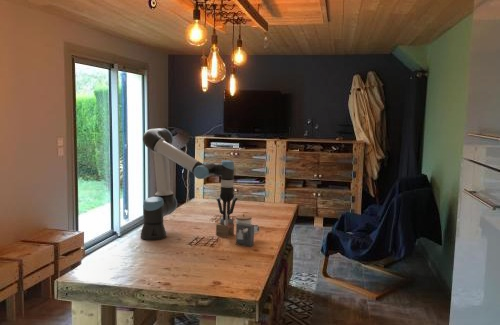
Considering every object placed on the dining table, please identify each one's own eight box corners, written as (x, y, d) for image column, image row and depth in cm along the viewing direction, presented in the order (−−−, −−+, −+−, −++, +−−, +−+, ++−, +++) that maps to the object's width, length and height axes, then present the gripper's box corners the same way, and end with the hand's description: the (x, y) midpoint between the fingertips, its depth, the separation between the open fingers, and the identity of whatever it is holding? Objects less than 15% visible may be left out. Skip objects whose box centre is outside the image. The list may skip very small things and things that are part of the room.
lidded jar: (249, 230, 286) (250, 216, 285) (233, 229, 288) (233, 215, 287) (252, 226, 296) (253, 213, 295) (237, 225, 298) (237, 211, 297)
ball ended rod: (219, 222, 276) (219, 214, 276) (228, 221, 278) (228, 213, 278) (226, 229, 261) (226, 220, 261) (236, 228, 263) (236, 219, 263)
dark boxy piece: (250, 246, 253) (251, 226, 251) (235, 244, 257) (236, 224, 256) (253, 245, 256) (254, 224, 255) (239, 242, 261) (239, 222, 259)
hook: (243, 240, 250) (243, 230, 249) (236, 239, 252) (236, 229, 251) (259, 232, 267) (259, 223, 267) (252, 231, 269) (253, 222, 269)
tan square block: (227, 237, 270) (227, 226, 269) (216, 235, 274) (216, 224, 273) (233, 234, 277) (234, 223, 276) (222, 232, 281) (223, 221, 280)
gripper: (235, 185, 269) (234, 223, 272) (214, 185, 265) (213, 224, 267) (239, 187, 262) (238, 226, 265) (218, 187, 258) (217, 227, 260)
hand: (225, 225), depth 266 cm, fingers closed
